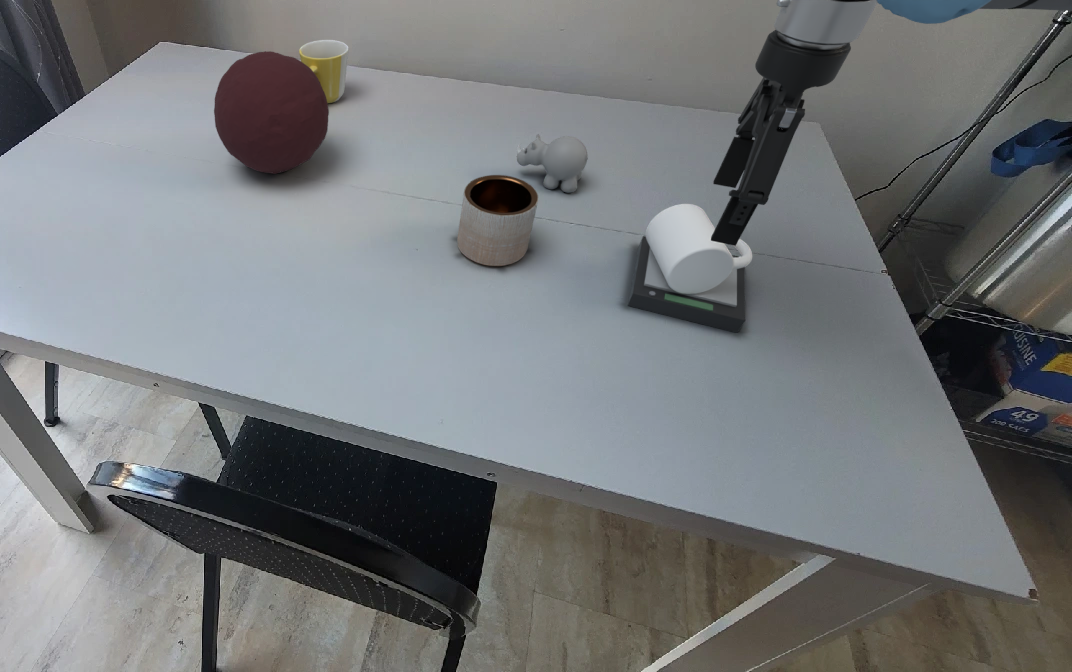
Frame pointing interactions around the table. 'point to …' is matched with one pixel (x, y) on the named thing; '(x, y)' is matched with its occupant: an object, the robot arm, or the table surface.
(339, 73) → the mug
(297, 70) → the decorative sphere
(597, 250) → the table surface
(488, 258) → the planter
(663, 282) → the scale
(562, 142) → the chubby cartoon animal
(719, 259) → the mug
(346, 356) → the table surface
